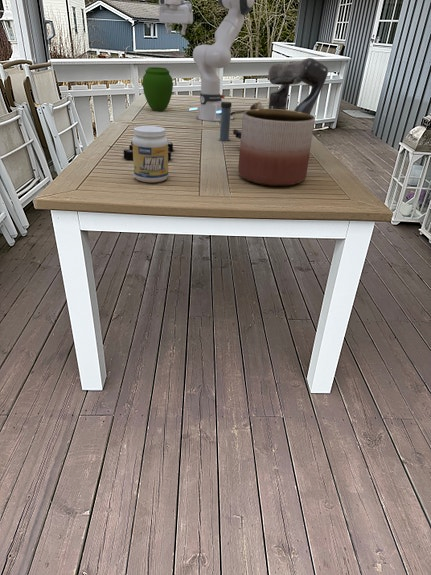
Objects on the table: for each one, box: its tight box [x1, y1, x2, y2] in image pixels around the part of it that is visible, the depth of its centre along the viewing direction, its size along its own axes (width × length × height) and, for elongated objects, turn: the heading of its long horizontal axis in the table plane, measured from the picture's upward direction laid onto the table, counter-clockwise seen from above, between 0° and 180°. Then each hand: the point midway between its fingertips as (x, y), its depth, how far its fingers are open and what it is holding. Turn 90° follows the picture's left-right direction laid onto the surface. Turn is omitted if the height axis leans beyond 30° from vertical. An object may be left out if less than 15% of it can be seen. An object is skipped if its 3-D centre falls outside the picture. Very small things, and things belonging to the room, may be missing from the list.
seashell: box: [249, 101, 265, 110], centre depth 266 cm, size 10×6×8 cm, turn 97°
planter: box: [237, 108, 316, 187], centre depth 148 cm, size 25×25×22 cm
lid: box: [221, 101, 232, 109], centre depth 195 cm, size 5×5×2 cm
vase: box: [141, 66, 174, 112], centre depth 261 cm, size 20×20×24 cm
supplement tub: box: [131, 125, 169, 183], centre depth 142 cm, size 12×12×17 cm
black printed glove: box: [123, 140, 174, 161], centre depth 177 cm, size 19×3×30 cm
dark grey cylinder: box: [219, 107, 232, 142], centre depth 199 cm, size 4×4×17 cm
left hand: (175, 34), depth 205 cm, fingers open, 8 cm apart
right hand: (240, 130), depth 192 cm, fingers open, 8 cm apart
